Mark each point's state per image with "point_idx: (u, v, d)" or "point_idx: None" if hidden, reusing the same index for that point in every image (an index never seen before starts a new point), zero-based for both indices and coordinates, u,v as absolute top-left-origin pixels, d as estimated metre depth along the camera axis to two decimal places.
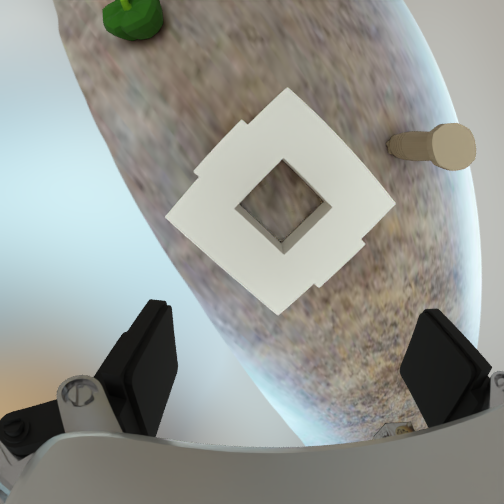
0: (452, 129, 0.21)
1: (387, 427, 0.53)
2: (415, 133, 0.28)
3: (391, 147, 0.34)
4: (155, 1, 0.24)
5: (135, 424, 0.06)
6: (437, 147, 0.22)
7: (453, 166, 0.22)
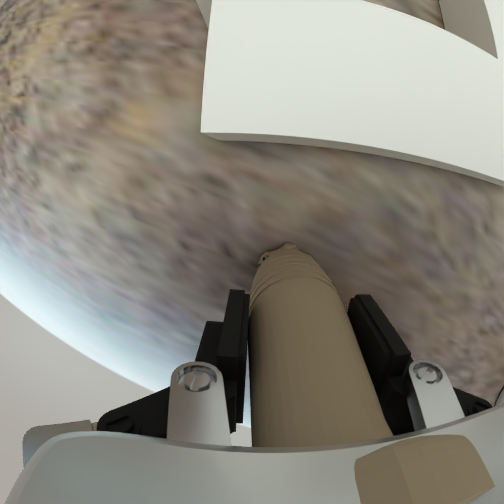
0: None
1: None
2: None
3: (312, 259, 0.14)
4: None
5: (236, 405, 0.07)
6: None
7: None
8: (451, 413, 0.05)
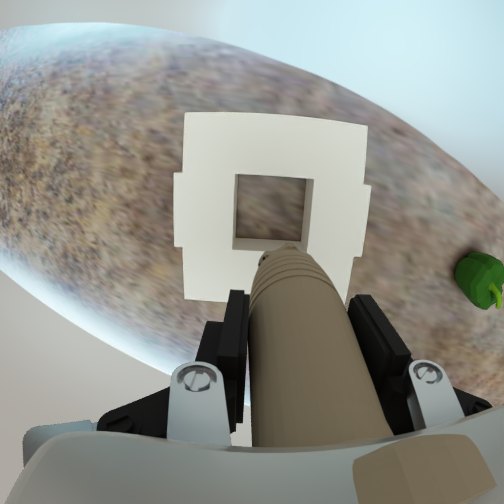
0: None
1: None
2: None
3: (312, 258, 0.14)
4: (473, 301, 0.33)
5: (236, 405, 0.07)
6: None
7: None
8: (451, 413, 0.05)
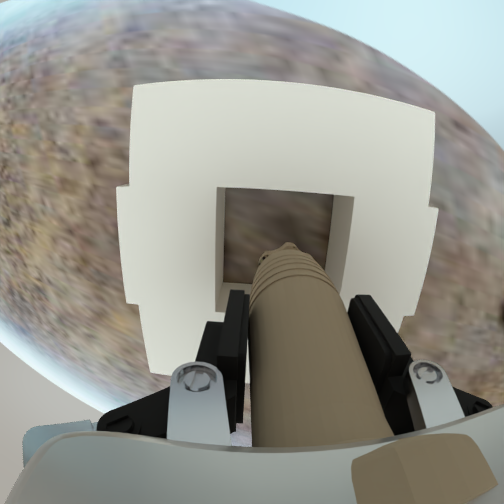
0: None
1: None
2: None
3: (312, 258, 0.14)
4: None
5: (236, 405, 0.07)
6: None
7: None
8: (451, 413, 0.05)
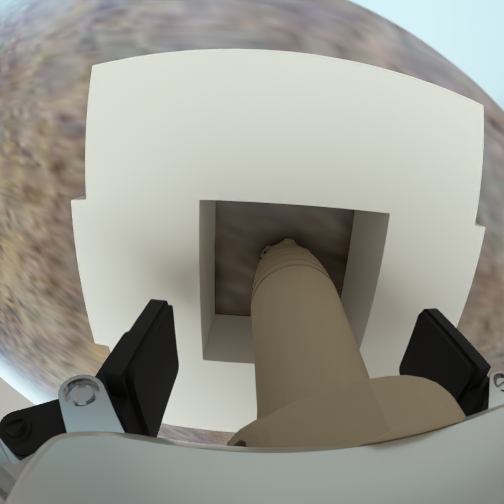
0: None
1: None
2: None
3: (308, 251, 0.15)
4: None
5: (137, 424, 0.06)
6: None
7: None
8: None
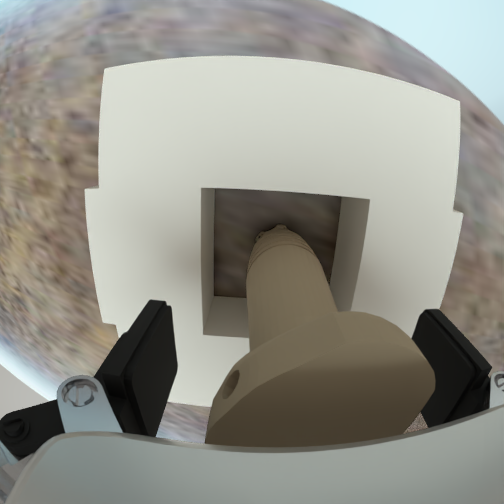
0: None
1: None
2: None
3: (298, 235, 0.17)
4: None
5: (135, 424, 0.06)
6: (400, 377, 0.05)
7: (268, 399, 0.05)
8: None
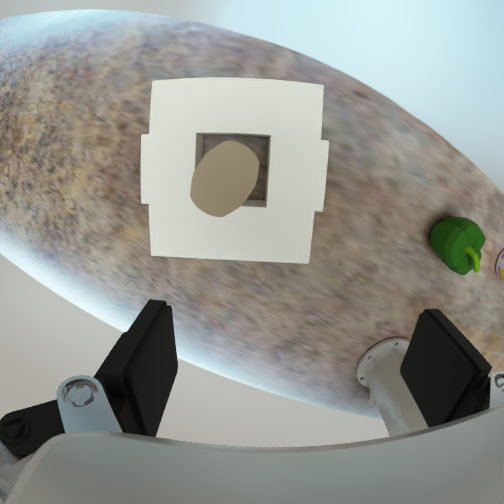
0: (243, 190, 0.23)
1: None
2: None
3: None
4: (449, 265, 0.34)
5: (135, 424, 0.06)
6: (243, 153, 0.22)
7: (208, 158, 0.22)
8: None
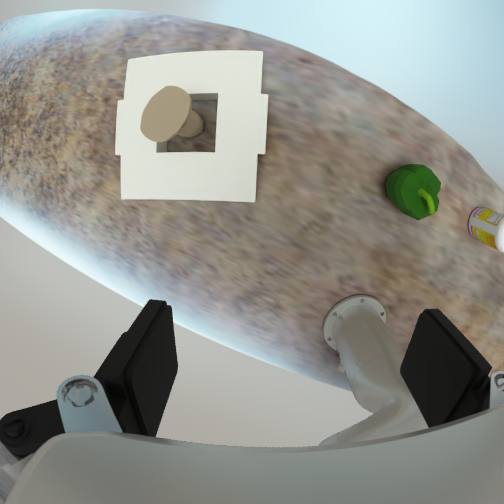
0: (178, 120, 0.27)
1: None
2: (194, 122, 0.33)
3: None
4: (403, 208, 0.37)
5: (135, 424, 0.06)
6: (178, 93, 0.26)
7: (154, 99, 0.26)
8: None
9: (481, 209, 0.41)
